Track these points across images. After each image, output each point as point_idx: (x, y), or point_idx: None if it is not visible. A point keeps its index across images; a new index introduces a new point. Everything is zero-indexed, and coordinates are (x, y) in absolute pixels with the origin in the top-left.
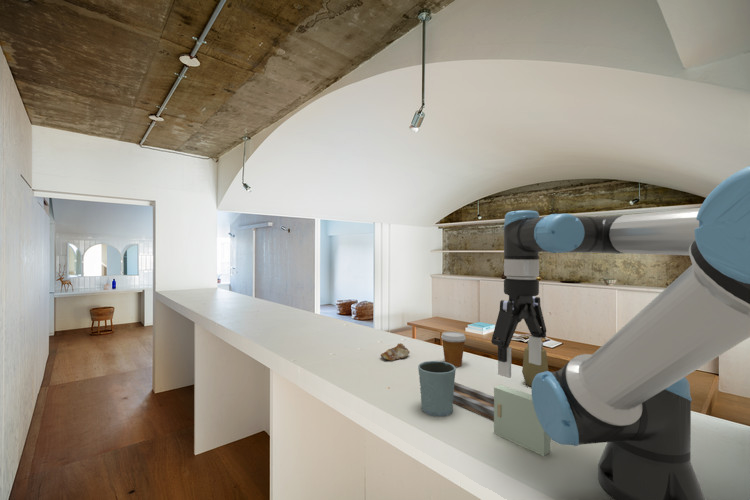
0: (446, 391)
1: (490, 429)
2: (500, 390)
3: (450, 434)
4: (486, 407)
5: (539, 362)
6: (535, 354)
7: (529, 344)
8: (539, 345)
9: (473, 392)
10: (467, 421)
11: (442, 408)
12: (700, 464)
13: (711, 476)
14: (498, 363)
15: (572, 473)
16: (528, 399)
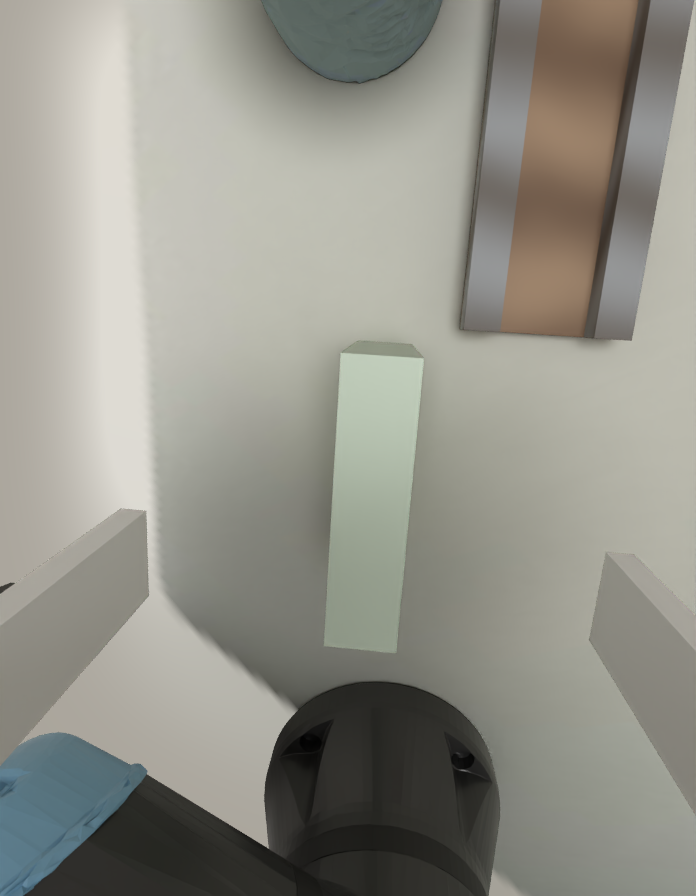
0: (302, 15)
1: (375, 314)
2: (338, 398)
3: (202, 216)
4: (482, 226)
5: (600, 652)
6: (630, 660)
7: (692, 659)
8: (674, 776)
9: (643, 32)
10: (362, 196)
11: (300, 51)
12: (660, 863)
13: (601, 880)
14: (72, 546)
15: (316, 629)
16: (329, 568)
